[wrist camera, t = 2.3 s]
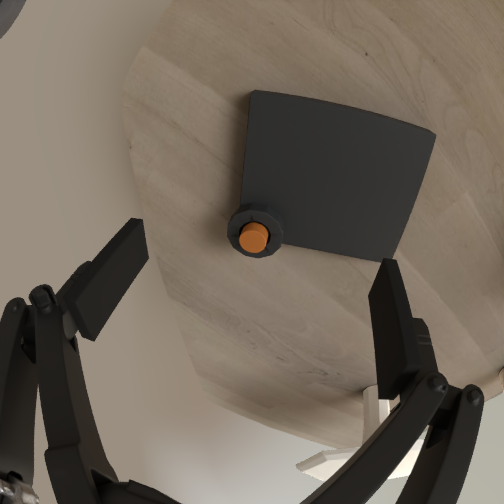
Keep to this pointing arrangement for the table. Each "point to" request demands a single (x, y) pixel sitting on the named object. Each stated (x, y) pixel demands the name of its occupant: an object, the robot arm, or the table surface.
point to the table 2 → (374, 416)
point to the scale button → (253, 237)
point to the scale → (328, 176)
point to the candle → (502, 378)
